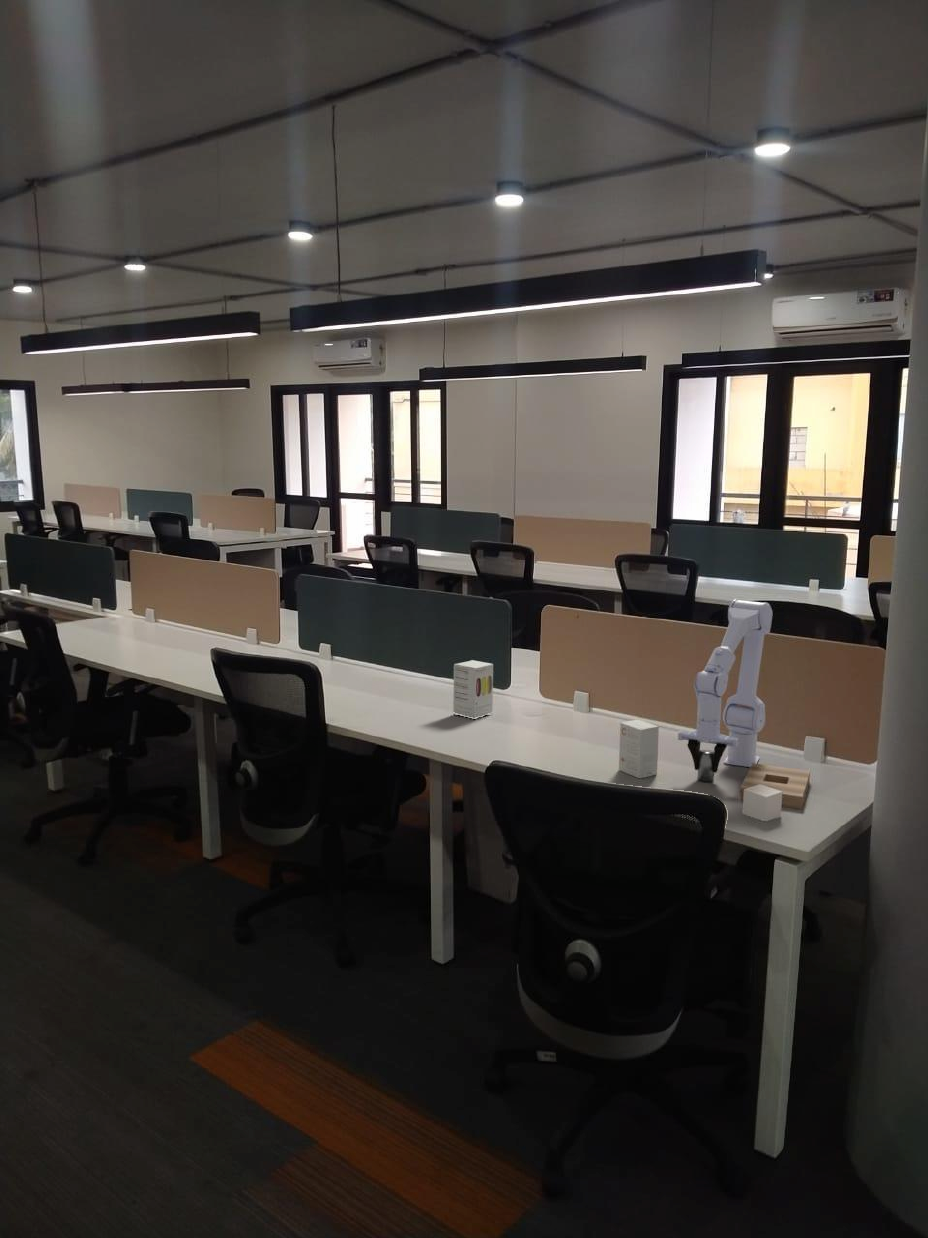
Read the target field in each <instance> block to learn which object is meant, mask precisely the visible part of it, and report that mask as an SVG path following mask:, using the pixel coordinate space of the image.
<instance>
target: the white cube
mask: <svg viewBox="0 0 928 1238" xmlns="http://www.w3.org/2000/svg"><path fill="white" fill-rule="evenodd" d="M781 805H782V791H779V790H776V789H773V788H770V787H767V786H764V785H761V784H759V785H756V786H753V787H750V788H747V789H744V796H743V800H742V813H743V814H742V815H744V814H746V815H745V816H747V815H748V817H749V816H751V817H750V818H752V817H754V818H753V819H755V818H757V819H756V820H758V819H760V820H762V821H761V822H763V821H766V822H769V821H772V820H775V819H778V818H781V815H782V806H781ZM774 818H775V819H774ZM771 819H772V820H771ZM760 820H759V821H760ZM768 820H769V821H768Z"/></svg>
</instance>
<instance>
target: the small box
mask: <svg viewBox="0 0 928 1238" xmlns="http://www.w3.org/2000/svg"><path fill="white" fill-rule="evenodd" d="M619 728H620V730H619V731H620V732H619V751H618V752H619V753H618V755H619V756H618V757H619V758H618V759H619V760H618V771H621V772H623V773H625V774H628V775H631V776H632V777H635V778H636V779H637V778H638V779H644V778H647V777H652V776H656V775H658V759H659V758H658V757H659V755H658V754H659V731H660V730H659V729H660V727H659V726H658V725H655V724H652V723H649V722H646V721H643V720H641V719H634V720H627V721H622V722H620V727H619Z"/></svg>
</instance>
